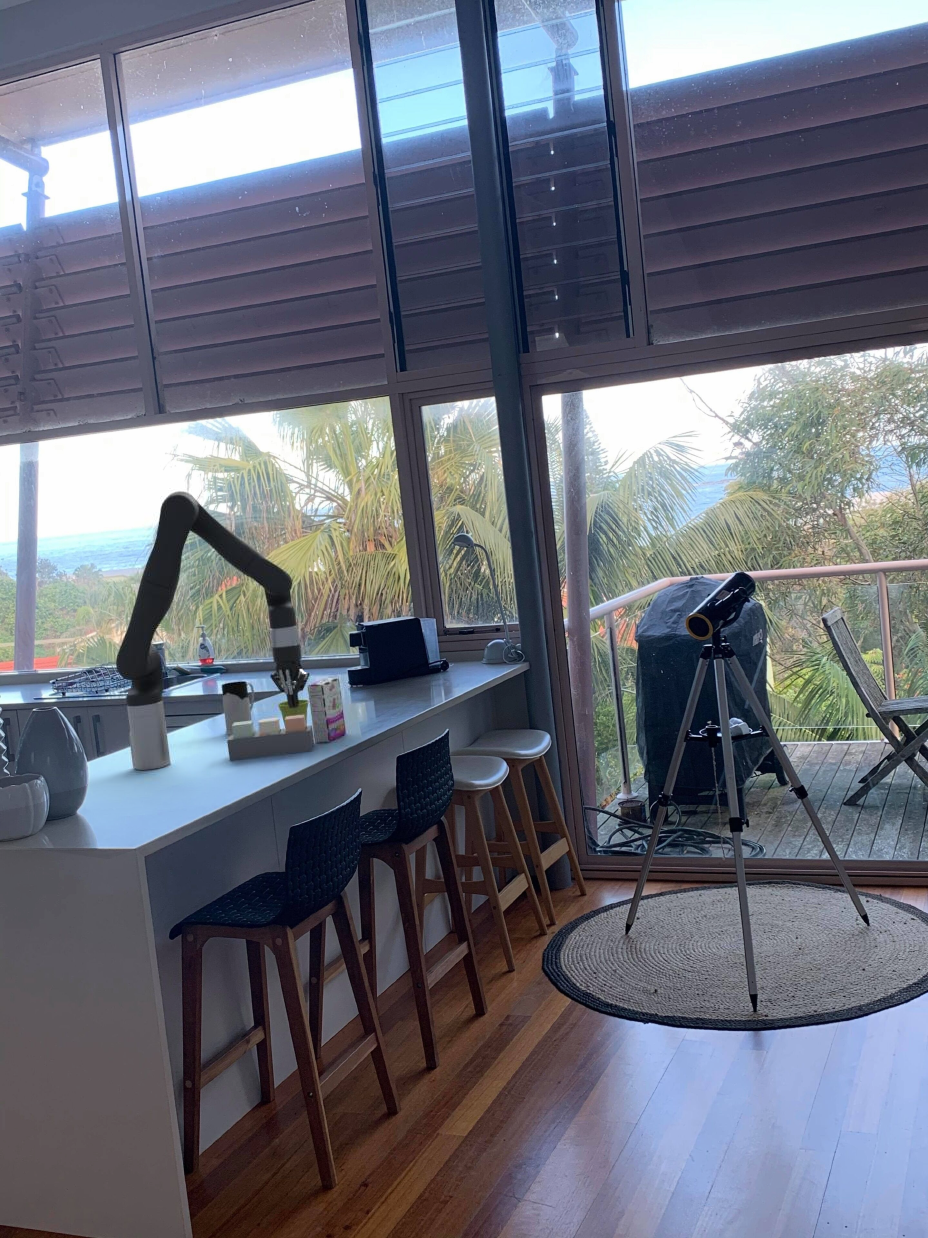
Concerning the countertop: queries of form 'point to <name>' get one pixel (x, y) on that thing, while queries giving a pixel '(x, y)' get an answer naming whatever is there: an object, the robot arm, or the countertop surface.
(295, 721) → the key terracotta
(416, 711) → the countertop surface
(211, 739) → the countertop surface
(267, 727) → the key sand
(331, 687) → the candy bar box
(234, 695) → the pitcher
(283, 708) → the plant pot
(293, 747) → the grey long block
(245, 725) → the key sage
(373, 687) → the countertop surface
